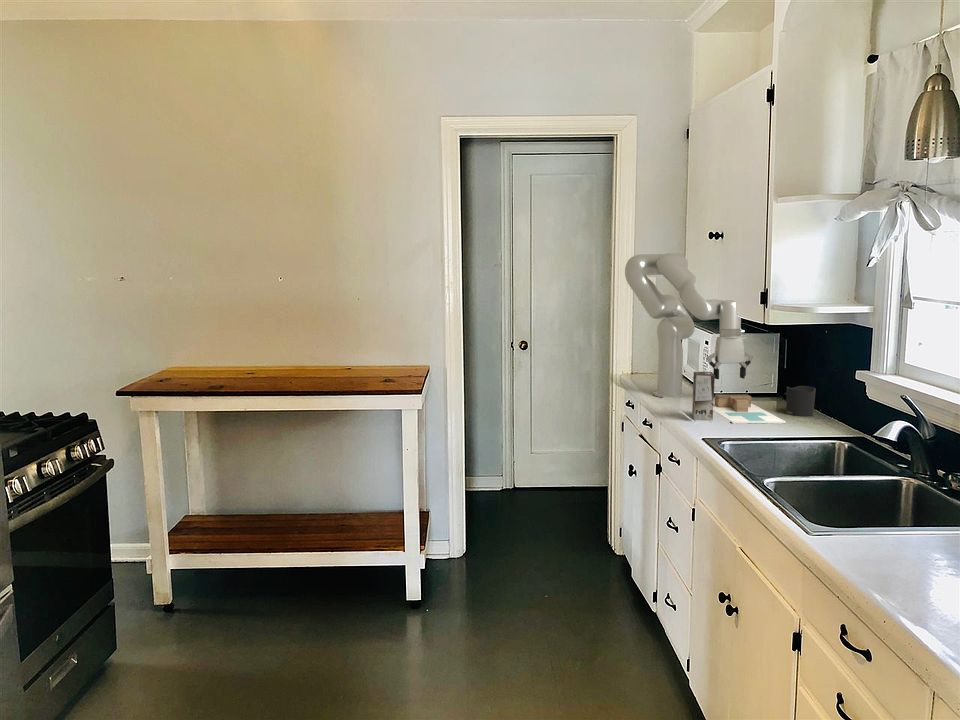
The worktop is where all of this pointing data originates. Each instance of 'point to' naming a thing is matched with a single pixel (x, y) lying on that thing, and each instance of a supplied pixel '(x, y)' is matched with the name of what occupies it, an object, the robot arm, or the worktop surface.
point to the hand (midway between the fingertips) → (729, 378)
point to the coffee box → (703, 396)
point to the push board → (747, 415)
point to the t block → (734, 402)
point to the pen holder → (800, 401)
